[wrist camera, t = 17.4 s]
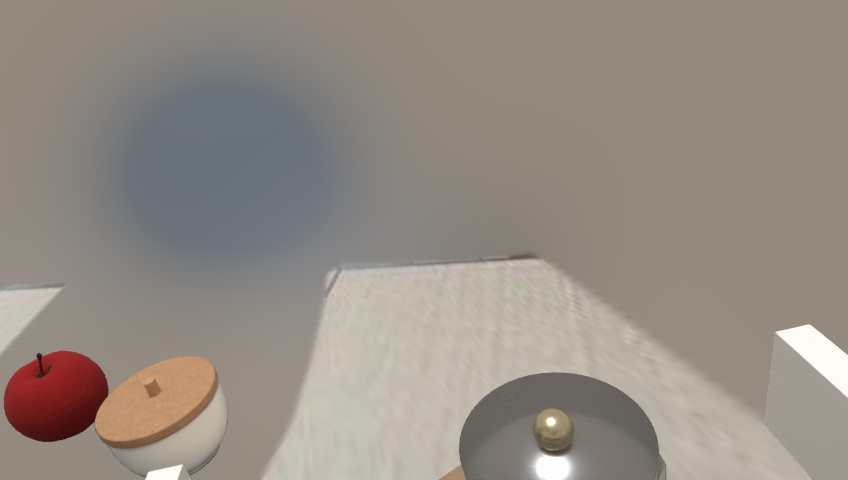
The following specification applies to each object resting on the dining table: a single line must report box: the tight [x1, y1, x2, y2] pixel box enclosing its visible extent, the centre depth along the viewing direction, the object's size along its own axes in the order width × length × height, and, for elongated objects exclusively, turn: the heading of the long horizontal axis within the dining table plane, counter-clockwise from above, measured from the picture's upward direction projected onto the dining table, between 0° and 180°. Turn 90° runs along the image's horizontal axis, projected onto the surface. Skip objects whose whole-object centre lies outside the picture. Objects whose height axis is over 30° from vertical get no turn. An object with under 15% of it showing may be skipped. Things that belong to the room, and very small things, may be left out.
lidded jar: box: [95, 356, 228, 477], centre depth 52 cm, size 11×11×9 cm
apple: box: [4, 351, 108, 442], centre depth 60 cm, size 9×9×10 cm
